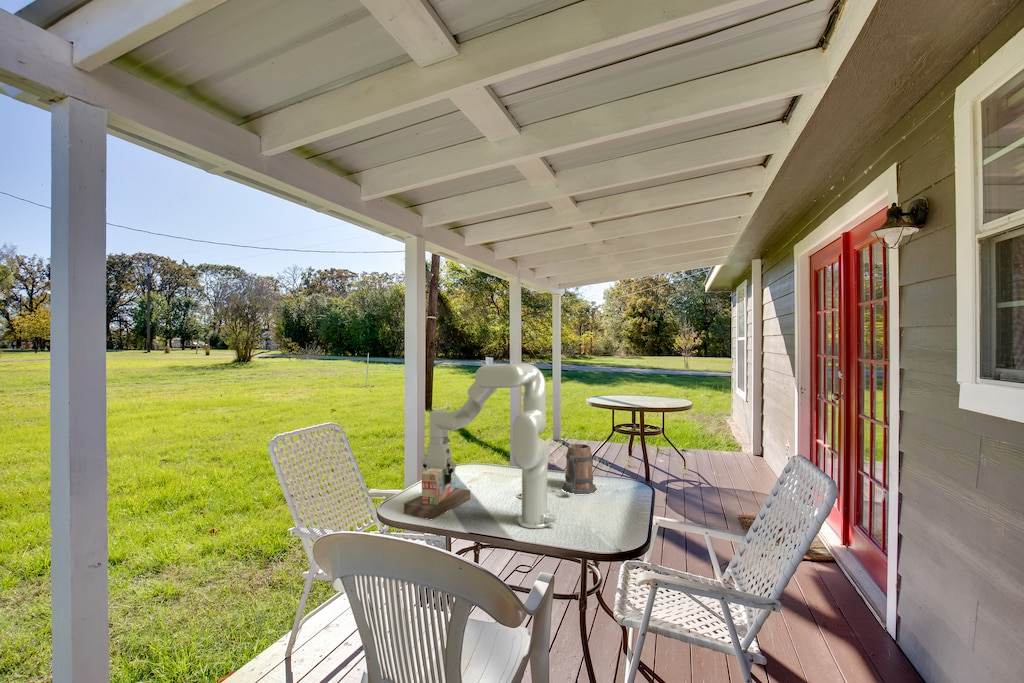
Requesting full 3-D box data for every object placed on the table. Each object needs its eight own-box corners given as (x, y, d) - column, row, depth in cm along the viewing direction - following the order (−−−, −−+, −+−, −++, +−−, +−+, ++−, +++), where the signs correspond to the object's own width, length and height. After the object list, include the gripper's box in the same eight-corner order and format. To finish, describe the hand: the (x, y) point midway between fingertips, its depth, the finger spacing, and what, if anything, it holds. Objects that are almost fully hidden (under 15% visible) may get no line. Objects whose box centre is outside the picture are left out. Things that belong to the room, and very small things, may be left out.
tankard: (567, 481, 223) (567, 440, 223) (601, 486, 215) (602, 444, 215) (550, 496, 202) (550, 450, 202) (587, 502, 194) (587, 455, 194)
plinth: (470, 499, 197) (470, 490, 197) (431, 520, 174) (431, 509, 174) (444, 494, 204) (444, 485, 204) (403, 513, 181) (403, 503, 181)
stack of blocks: (442, 487, 201) (442, 459, 201) (455, 488, 199) (455, 460, 199) (421, 504, 180) (421, 472, 180) (436, 505, 179) (436, 473, 179)
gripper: (461, 440, 188) (461, 482, 188) (427, 436, 197) (427, 476, 197) (450, 444, 182) (450, 487, 182) (416, 439, 190) (416, 481, 190)
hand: (438, 482), depth 189 cm, fingers open, 9 cm apart
